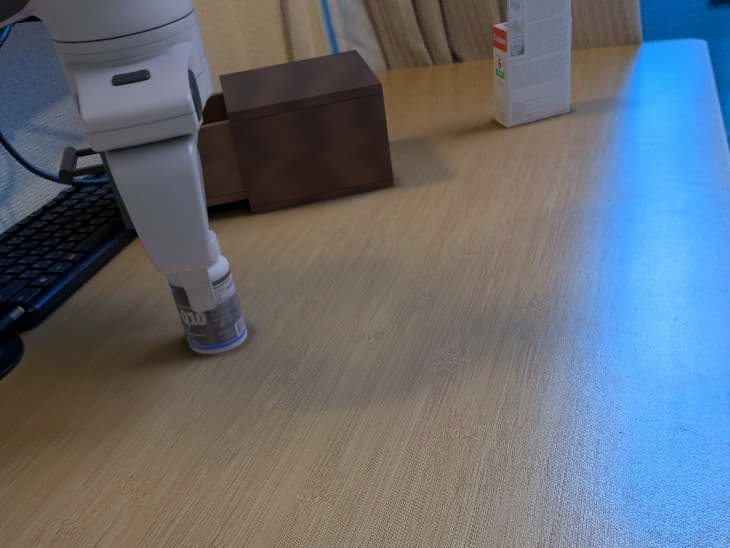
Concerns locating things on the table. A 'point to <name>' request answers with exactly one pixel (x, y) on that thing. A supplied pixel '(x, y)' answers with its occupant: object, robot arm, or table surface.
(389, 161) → the cabinet
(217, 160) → the drawer
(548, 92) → the ink box
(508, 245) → the table surface
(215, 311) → the pill bottle
